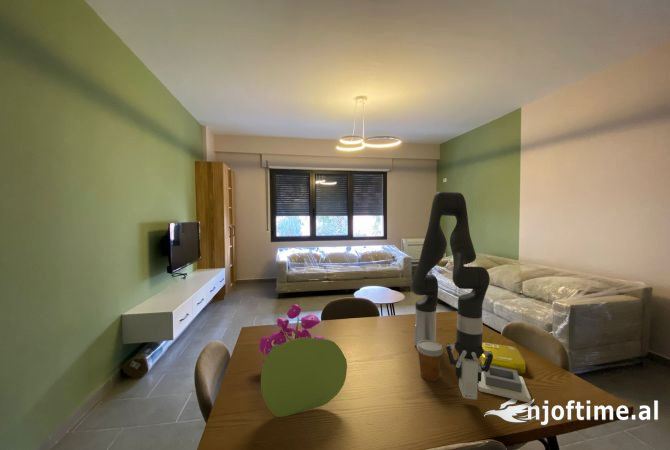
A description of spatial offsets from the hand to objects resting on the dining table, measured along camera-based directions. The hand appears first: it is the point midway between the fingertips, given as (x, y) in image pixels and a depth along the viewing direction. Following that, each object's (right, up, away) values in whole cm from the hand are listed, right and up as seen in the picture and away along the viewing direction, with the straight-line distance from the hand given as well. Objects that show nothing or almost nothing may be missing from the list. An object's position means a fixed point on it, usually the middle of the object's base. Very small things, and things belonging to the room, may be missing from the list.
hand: (468, 379), depth 88 cm
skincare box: (0, -5, 0) cm, 5 cm away
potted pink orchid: (-57, -8, +15) cm, 59 cm away
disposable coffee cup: (-7, -8, +15) cm, 19 cm away
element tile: (+26, -8, +26) cm, 37 cm away
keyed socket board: (+16, -8, +9) cm, 20 cm away
